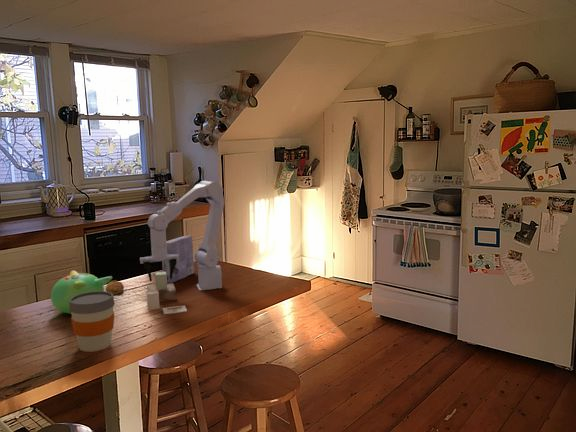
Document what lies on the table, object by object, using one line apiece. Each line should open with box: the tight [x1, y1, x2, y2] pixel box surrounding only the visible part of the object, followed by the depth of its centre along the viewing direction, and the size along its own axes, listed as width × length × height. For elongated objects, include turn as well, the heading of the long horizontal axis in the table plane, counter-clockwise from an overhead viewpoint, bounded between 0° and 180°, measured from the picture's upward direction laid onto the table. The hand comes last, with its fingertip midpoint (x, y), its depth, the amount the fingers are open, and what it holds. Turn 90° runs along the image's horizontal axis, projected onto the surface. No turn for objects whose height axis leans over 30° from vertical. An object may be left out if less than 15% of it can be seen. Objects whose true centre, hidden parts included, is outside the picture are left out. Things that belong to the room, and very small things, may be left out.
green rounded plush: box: [50, 270, 113, 315], centre depth 175 cm, size 18×17×15 cm
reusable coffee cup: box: [69, 290, 115, 353], centre depth 146 cm, size 13×13×15 cm
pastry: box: [105, 280, 125, 296], centre depth 199 cm, size 9×7×4 cm
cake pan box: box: [161, 235, 195, 284], centre depth 217 cm, size 19×5×18 cm, turn 158°
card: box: [162, 305, 188, 315], centre depth 176 cm, size 8×6×1 cm
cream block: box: [146, 290, 161, 311], centre depth 179 cm, size 4×4×6 cm
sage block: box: [154, 271, 168, 290], centre depth 190 cm, size 4×4×6 cm
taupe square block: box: [147, 282, 177, 303], centre depth 191 cm, size 10×10×4 cm
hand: (160, 279), depth 190 cm, fingers open, 7 cm apart
